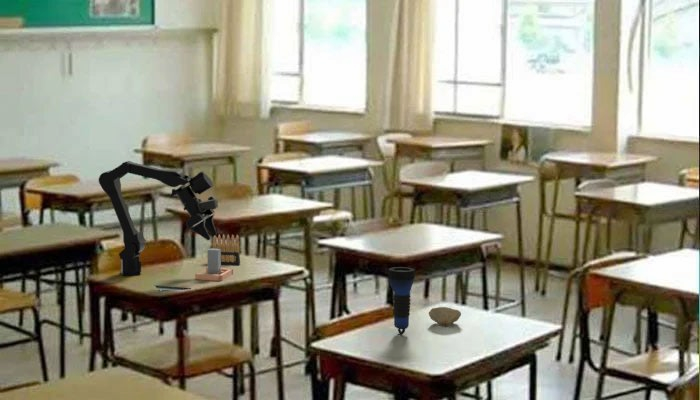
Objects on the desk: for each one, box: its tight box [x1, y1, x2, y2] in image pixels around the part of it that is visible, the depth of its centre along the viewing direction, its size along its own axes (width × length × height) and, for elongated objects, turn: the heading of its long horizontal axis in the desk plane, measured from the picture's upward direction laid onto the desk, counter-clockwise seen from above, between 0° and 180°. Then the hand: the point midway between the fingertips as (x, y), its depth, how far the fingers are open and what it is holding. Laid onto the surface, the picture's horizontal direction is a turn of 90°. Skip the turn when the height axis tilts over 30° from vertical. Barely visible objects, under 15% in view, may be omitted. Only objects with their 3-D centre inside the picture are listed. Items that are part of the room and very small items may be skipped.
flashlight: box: [387, 266, 416, 335], centre depth 350 cm, size 8×8×20 cm
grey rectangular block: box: [206, 247, 222, 275], centre depth 422 cm, size 4×3×10 cm
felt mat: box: [155, 285, 192, 292], centre depth 409 cm, size 11×9×1 cm
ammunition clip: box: [212, 233, 241, 266], centre depth 449 cm, size 11×2×12 cm, turn 84°
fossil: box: [428, 306, 462, 327], centre depth 361 cm, size 9×4×10 cm
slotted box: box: [194, 266, 234, 282], centre depth 423 cm, size 10×12×3 cm
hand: (212, 237), depth 424 cm, fingers open, 9 cm apart
